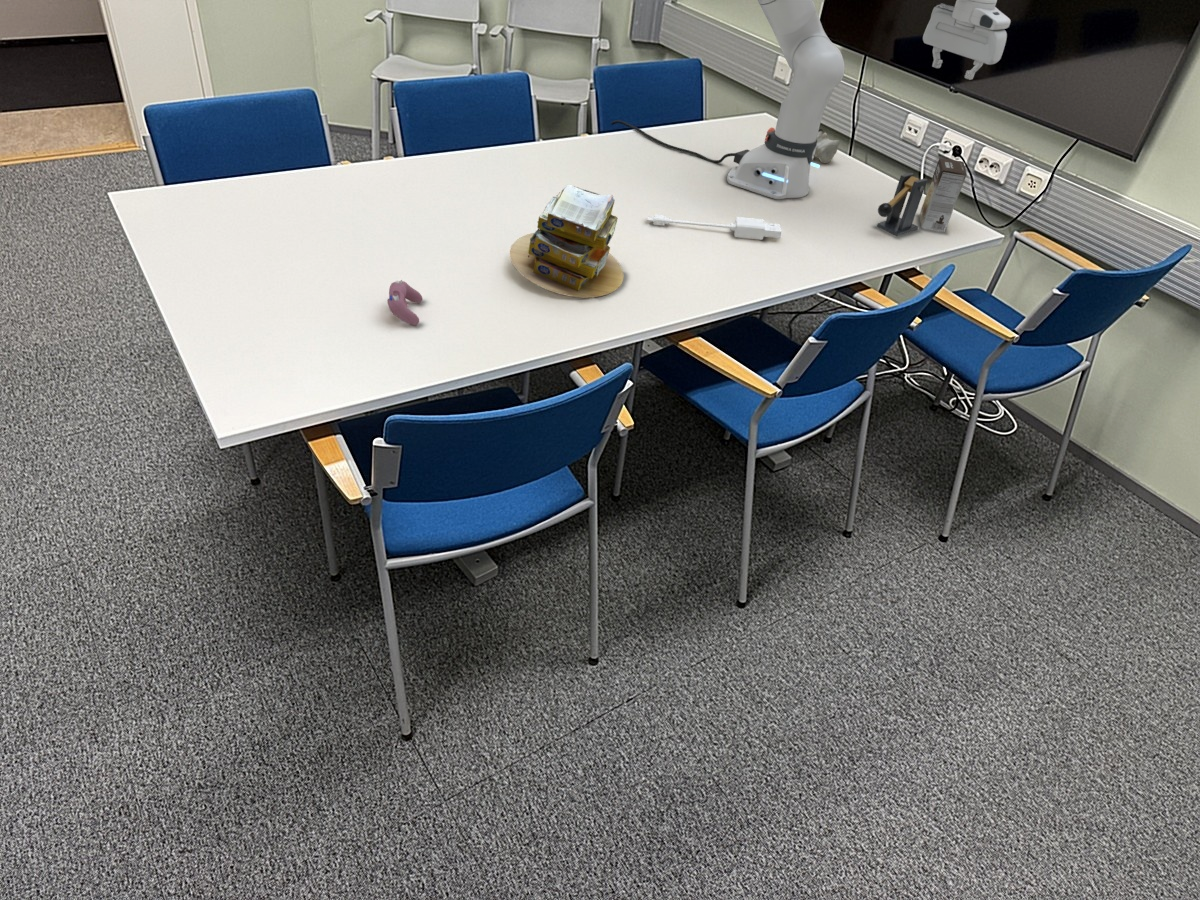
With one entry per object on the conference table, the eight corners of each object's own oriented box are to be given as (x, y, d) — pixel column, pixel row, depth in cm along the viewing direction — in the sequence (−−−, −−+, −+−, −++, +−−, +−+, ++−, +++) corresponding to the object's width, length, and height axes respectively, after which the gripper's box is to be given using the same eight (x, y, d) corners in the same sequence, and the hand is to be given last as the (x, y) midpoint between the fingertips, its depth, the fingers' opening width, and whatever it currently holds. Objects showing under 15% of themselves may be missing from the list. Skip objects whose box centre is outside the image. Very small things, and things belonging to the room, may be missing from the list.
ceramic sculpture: (829, 138, 250) (787, 124, 258) (823, 168, 255) (782, 154, 263) (851, 132, 256) (809, 119, 264) (844, 162, 261) (803, 148, 269)
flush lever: (886, 221, 218) (885, 212, 215) (875, 216, 220) (874, 206, 217) (921, 188, 220) (921, 178, 217) (910, 183, 222) (909, 173, 219)
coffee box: (917, 215, 235) (938, 156, 225) (941, 219, 235) (963, 161, 225) (920, 229, 228) (942, 169, 218) (945, 233, 228) (968, 173, 218)
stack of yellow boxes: (642, 268, 194) (653, 196, 184) (587, 312, 177) (595, 235, 166) (548, 235, 202) (554, 164, 192) (486, 274, 185) (488, 198, 174)
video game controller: (404, 306, 174) (386, 277, 170) (424, 298, 173) (407, 269, 169) (399, 333, 166) (380, 303, 162) (420, 325, 166) (402, 294, 161)
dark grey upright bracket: (896, 237, 222) (914, 185, 214) (876, 227, 226) (892, 175, 217) (917, 230, 227) (935, 179, 219) (896, 220, 231) (914, 169, 222)
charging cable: (646, 221, 216) (648, 208, 214) (777, 233, 216) (780, 220, 214) (646, 229, 212) (647, 216, 210) (779, 242, 212) (782, 229, 210)
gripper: (928, 2, 213) (909, 61, 221) (1003, 24, 201) (980, 86, 210) (943, 0, 216) (924, 59, 225) (1017, 22, 205) (994, 84, 213)
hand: (951, 72), depth 217 cm, fingers open, 8 cm apart
